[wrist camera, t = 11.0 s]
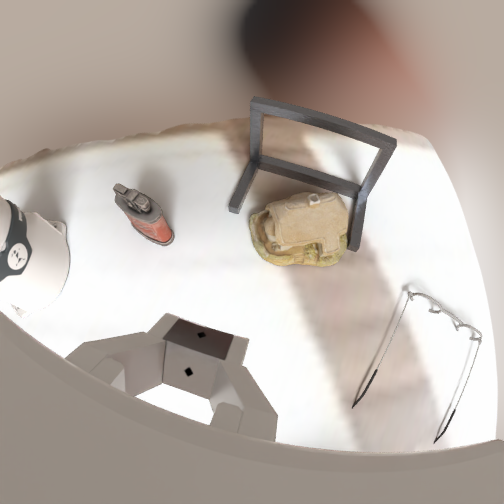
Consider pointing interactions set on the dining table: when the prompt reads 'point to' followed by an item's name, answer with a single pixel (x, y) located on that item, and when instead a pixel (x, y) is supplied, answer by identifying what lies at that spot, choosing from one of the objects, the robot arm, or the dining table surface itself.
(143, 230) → the lighter
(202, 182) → the dining table surface
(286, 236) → the ceramic model
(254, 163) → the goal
